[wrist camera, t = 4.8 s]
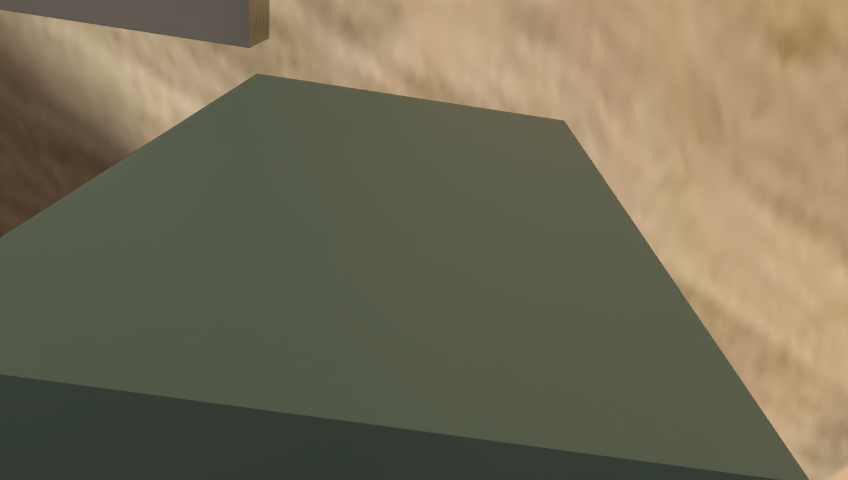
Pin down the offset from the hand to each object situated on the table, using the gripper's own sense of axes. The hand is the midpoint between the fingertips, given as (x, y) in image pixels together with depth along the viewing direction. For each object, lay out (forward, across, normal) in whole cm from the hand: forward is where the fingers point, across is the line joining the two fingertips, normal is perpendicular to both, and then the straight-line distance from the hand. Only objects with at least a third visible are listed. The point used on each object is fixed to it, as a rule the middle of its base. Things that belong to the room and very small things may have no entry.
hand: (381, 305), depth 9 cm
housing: (+2, 0, 0) cm, 2 cm away
